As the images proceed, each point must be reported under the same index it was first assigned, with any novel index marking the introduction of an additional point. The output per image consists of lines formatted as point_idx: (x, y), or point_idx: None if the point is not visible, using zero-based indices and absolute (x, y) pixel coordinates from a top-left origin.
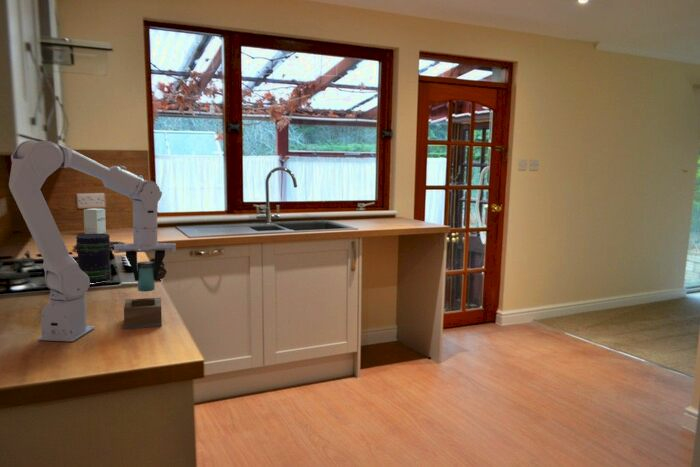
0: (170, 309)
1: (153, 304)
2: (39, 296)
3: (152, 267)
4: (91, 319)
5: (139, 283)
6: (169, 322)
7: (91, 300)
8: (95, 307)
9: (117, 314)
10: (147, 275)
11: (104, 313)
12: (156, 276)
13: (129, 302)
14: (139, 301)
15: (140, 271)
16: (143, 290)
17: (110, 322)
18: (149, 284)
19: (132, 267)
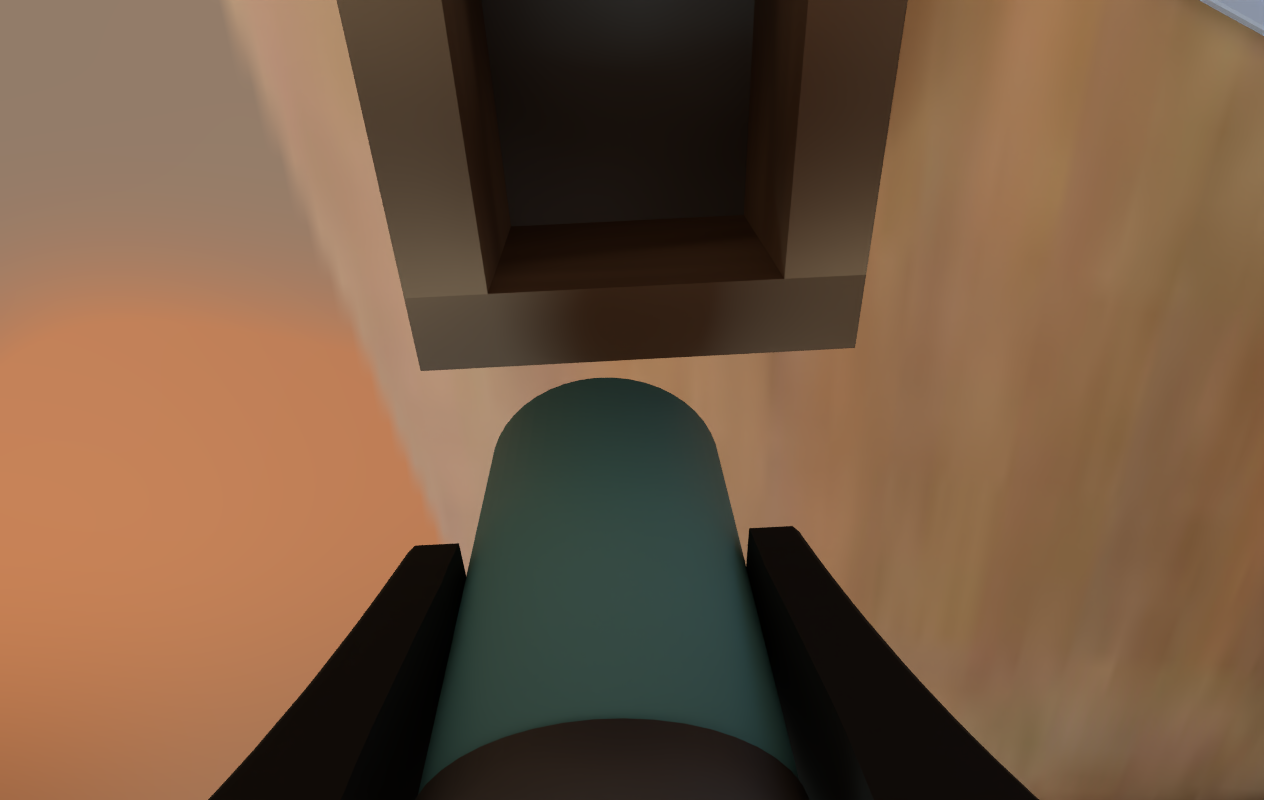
0: (411, 456)
1: (512, 268)
2: (1245, 786)
3: (433, 781)
4: (1082, 295)
5: (713, 487)
6: (329, 20)
7: (988, 705)
8: (991, 578)
9: (855, 395)
10: (568, 568)
11: (952, 437)
12: (396, 584)
13: (819, 194)
14: (684, 275)
15: (730, 665)
16: (641, 391)
17: (941, 164)
18: (544, 450)
19: (966, 752)
